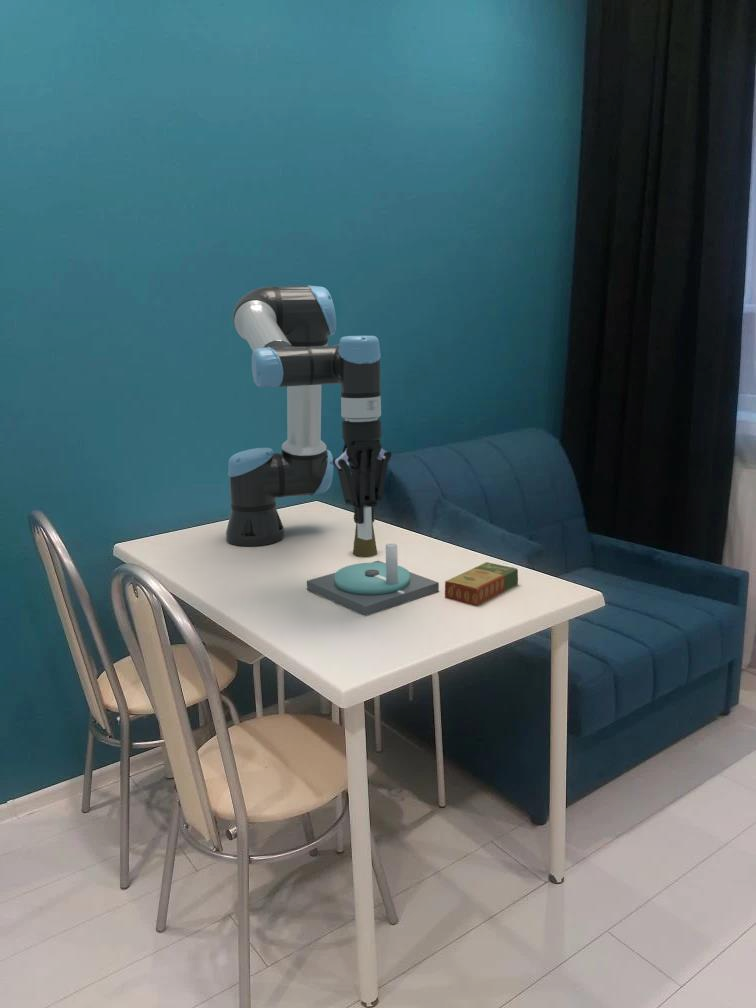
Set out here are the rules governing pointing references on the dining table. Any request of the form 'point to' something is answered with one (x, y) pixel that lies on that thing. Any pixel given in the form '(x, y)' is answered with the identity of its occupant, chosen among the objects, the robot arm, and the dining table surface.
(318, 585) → the base plate
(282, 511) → the dining table surface
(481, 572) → the carton
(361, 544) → the cork
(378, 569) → the dial
